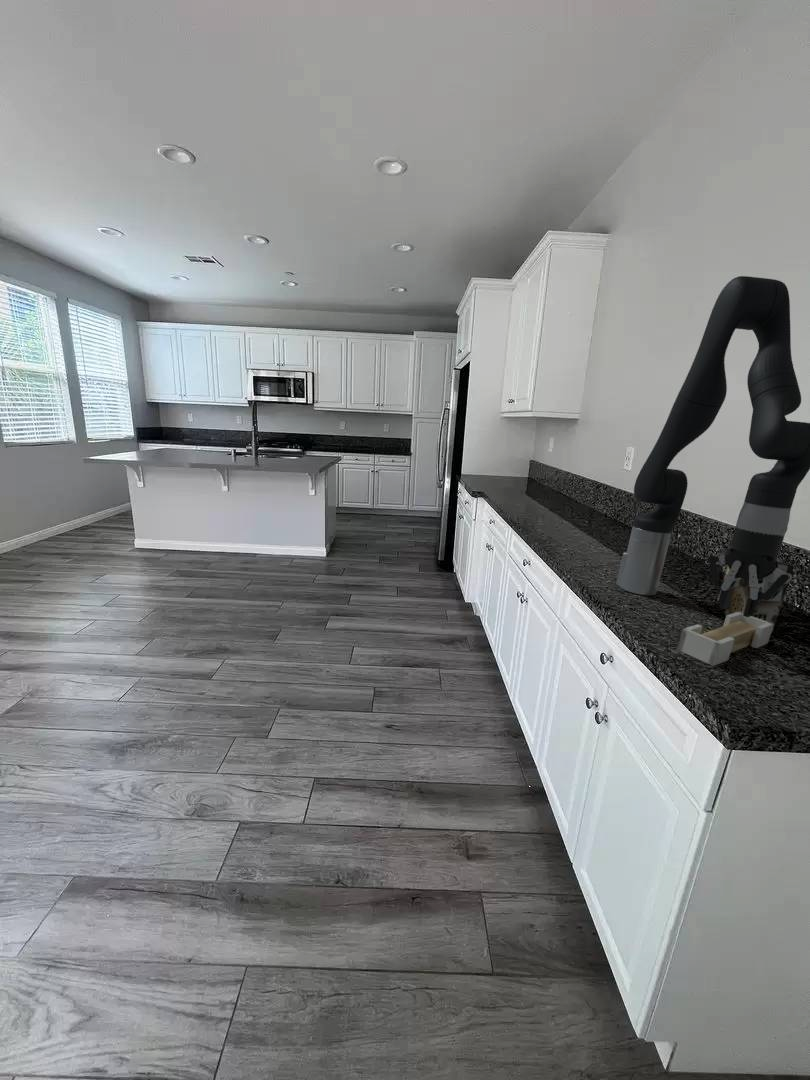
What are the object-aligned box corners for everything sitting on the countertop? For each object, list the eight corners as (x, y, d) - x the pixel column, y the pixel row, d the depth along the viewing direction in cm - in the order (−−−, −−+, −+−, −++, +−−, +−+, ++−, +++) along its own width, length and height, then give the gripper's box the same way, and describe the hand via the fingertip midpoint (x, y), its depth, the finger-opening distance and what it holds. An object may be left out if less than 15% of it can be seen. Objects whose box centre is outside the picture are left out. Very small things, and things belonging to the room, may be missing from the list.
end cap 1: (677, 649, 86) (682, 628, 85) (692, 644, 89) (697, 624, 88) (713, 666, 81) (720, 644, 80) (728, 660, 84) (734, 638, 83)
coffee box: (774, 633, 99) (796, 566, 95) (742, 628, 100) (763, 561, 96) (751, 617, 108) (771, 555, 104) (722, 613, 109) (741, 551, 105)
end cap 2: (767, 643, 93) (774, 624, 92) (755, 648, 90) (762, 628, 89) (732, 630, 99) (738, 611, 97) (720, 634, 96) (726, 615, 94)
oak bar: (692, 653, 86) (697, 635, 85) (733, 637, 95) (739, 621, 94) (710, 662, 83) (716, 643, 82) (752, 645, 92) (757, 627, 91)
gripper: (710, 521, 87) (688, 601, 91) (798, 538, 76) (769, 629, 80) (727, 520, 91) (706, 597, 95) (814, 536, 80) (786, 623, 84)
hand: (735, 611), depth 87 cm, fingers open, 3 cm apart
